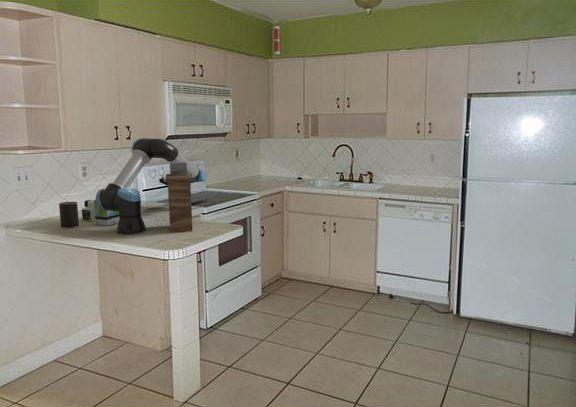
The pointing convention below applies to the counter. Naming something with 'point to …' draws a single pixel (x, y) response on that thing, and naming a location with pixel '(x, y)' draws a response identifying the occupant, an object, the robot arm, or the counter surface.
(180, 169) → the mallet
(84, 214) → the medicine bottle
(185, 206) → the pedestal
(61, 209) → the pillar candle
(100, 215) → the tea box
